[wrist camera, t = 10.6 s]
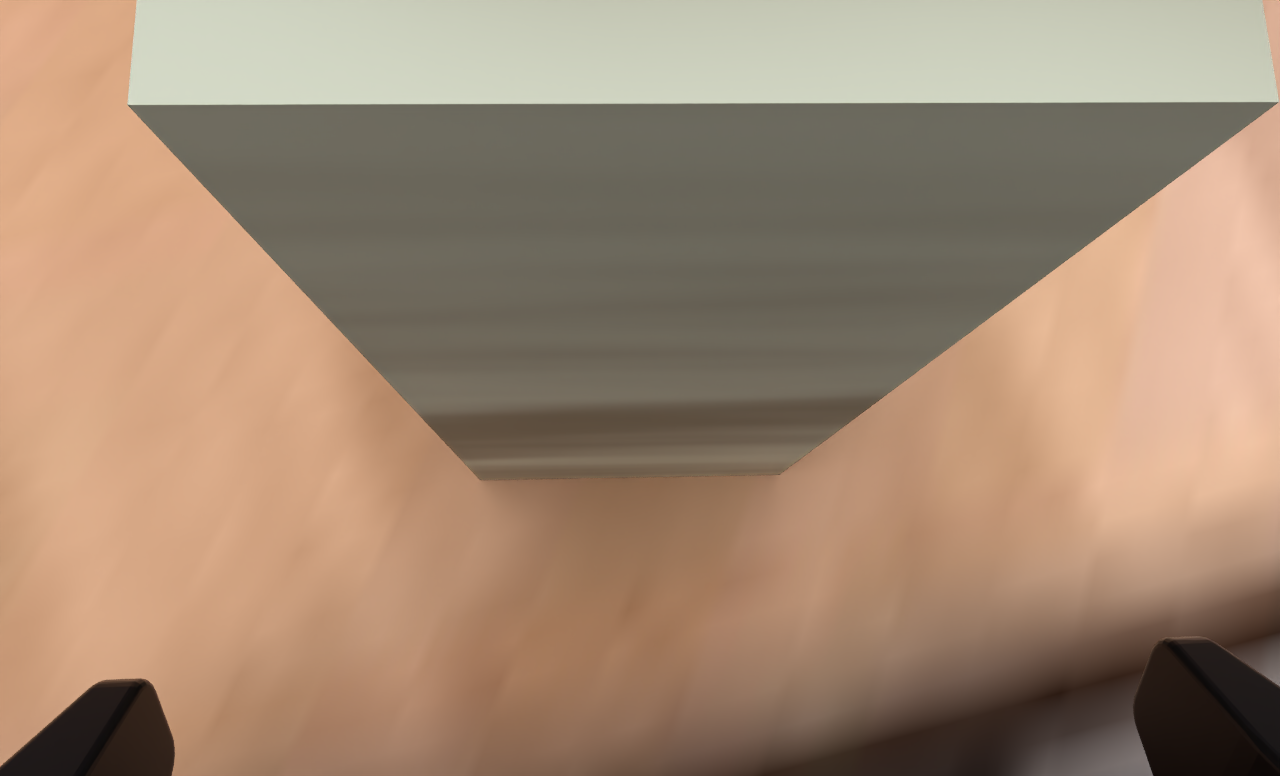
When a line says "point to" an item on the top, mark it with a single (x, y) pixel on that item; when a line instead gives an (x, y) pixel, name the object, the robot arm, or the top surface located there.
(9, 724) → the top surface
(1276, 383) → the top surface
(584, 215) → the sage block
